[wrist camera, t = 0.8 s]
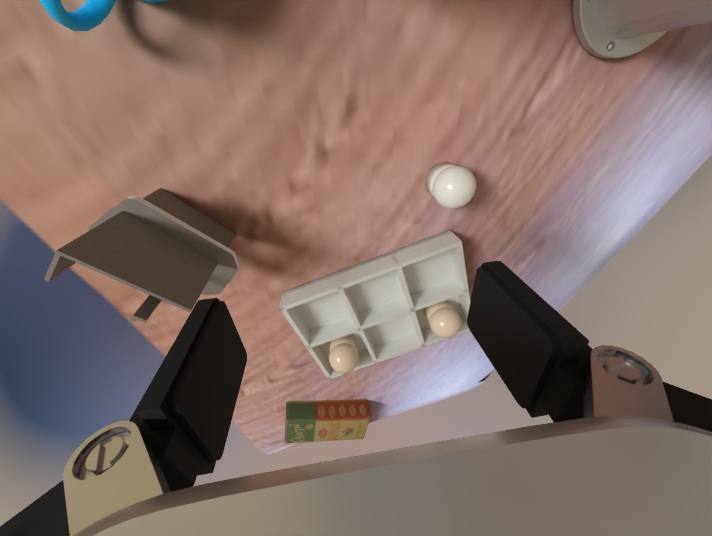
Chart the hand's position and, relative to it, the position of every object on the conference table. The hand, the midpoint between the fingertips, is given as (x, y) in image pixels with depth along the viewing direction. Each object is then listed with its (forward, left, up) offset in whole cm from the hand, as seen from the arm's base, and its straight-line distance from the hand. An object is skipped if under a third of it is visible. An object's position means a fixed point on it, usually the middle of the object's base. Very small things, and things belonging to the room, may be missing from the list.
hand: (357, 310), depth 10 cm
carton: (+19, +44, -25) cm, 54 cm away
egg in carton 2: (-8, +26, -24) cm, 36 cm away
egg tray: (0, +22, -24) cm, 33 cm away
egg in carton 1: (+8, +26, -24) cm, 36 cm away
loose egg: (-12, +6, -24) cm, 28 cm away
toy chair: (+17, 0, -25) cm, 30 cm away
